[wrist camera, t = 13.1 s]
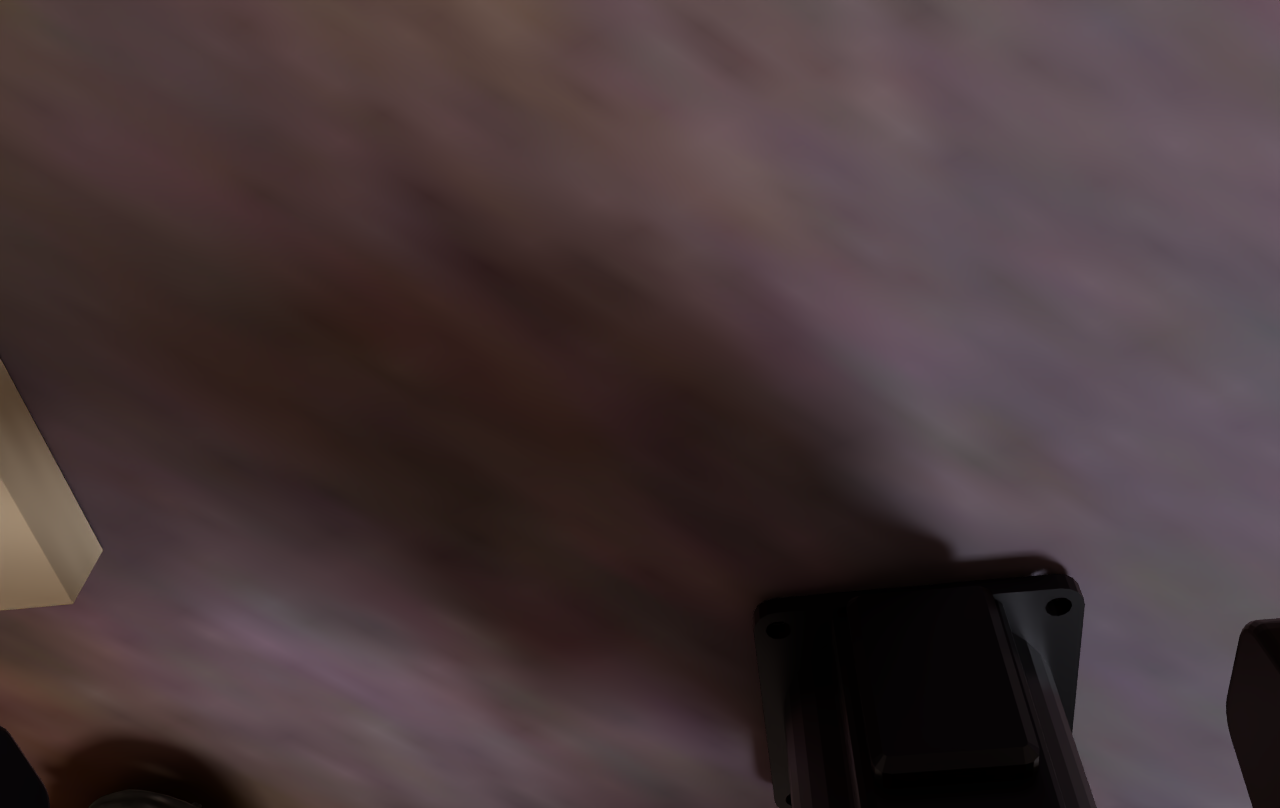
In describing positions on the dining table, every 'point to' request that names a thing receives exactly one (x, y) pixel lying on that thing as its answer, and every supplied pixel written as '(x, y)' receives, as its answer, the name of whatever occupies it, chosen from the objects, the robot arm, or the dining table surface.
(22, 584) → the rail board
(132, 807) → the milk frother
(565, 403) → the dining table surface
